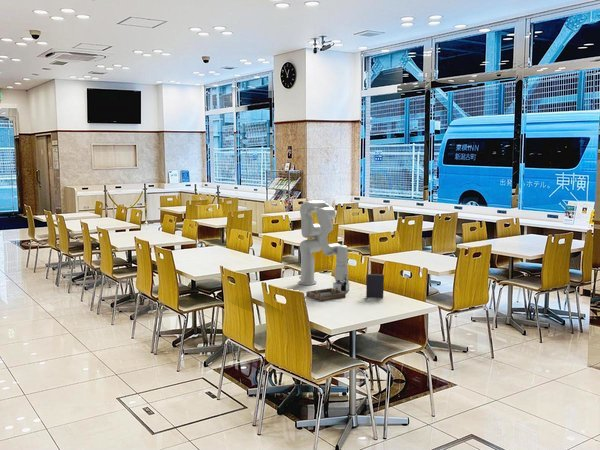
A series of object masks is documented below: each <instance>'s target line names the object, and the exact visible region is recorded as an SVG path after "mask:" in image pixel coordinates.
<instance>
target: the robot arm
mask: <svg viewBox="0 0 600 450" xmlns="http://www.w3.org/2000/svg"><path fill="white" fill-rule="evenodd" d="M313 213H316V217H317V220H318V223H314V217H313V215H312V214H313ZM299 214H300V220H301V221H300V223H301V224H300V226H301V227H300V228H301V229H300V231H301V236H302V237H303V238H305V239H304V240H302V241H301V242H300V243H299V251H300V276H299V279H300V280H299V281H298V284H299V285H302V286H311V285H312V286H314V285H316V284H317V281H316V280H315V257H314V255H313V253H318V252H320V251H322V253H323V255H325V256H334V255H336V259H335V260H336V262H335V267H334V275H333V277H334V279H335V282H341V281H342V291H346V285H347V283H348V282H349V269H348V268H349V267H348V256H349V255H348V253H349V251H348V250H349V248H348V246H347V245H344V244H340V243H330V242H329V239H328V236H329V234H330V232H332V231H333V230H334V225H333V222H332V220H333V219H335V217H336V216H337V215H336V209H334V207H332V205H330V204H329V203H327V202H325V201H323V200H321V199H320V200H317V199H316V200H315V199H314V200H306V201H303V203H301V205H300V207H299ZM307 238H308V239H307ZM311 238H312V239H311ZM344 281H345V282H344ZM349 283H350V282H349ZM346 292H347V291H346Z"/></svg>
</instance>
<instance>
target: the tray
mask: <svg viewBox="0 0 600 450" xmlns="http://www.w3.org/2000/svg"><path fill="white" fill-rule="evenodd" d="M346 293H347V292H342V291H339V290H336V289H333V287H329V288H322V289H315V290H310V291H309V290H308V291H306V294H305V295H306V298H307V297H308V298H310V299H313V300H316V301H318V302H324V301H325V302H326V301H330V300H338V299H345V298H346V296H347V294H346Z"/></svg>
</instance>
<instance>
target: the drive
mask: <svg viewBox="0 0 600 450" xmlns="http://www.w3.org/2000/svg"><path fill="white" fill-rule="evenodd" d="M344 282H345V281H344ZM332 288H333V289H336V290H339V291H342V281H340V282H336V281H334V282H332ZM342 292H344V293H347V292H350V282H348V283H347V285H346V291H342Z"/></svg>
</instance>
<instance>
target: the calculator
mask: <svg viewBox="0 0 600 450" xmlns="http://www.w3.org/2000/svg"><path fill="white" fill-rule="evenodd" d="M384 282H385V275H384V274H380V273H379V274H378V273H367V274H366V286H365V287H366V291H365V292H366V294H365V296H366V298H373V299H375V298H377V299H379V298H380V299H383V298H384V287H385V286H384V285H385V283H384Z"/></svg>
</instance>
